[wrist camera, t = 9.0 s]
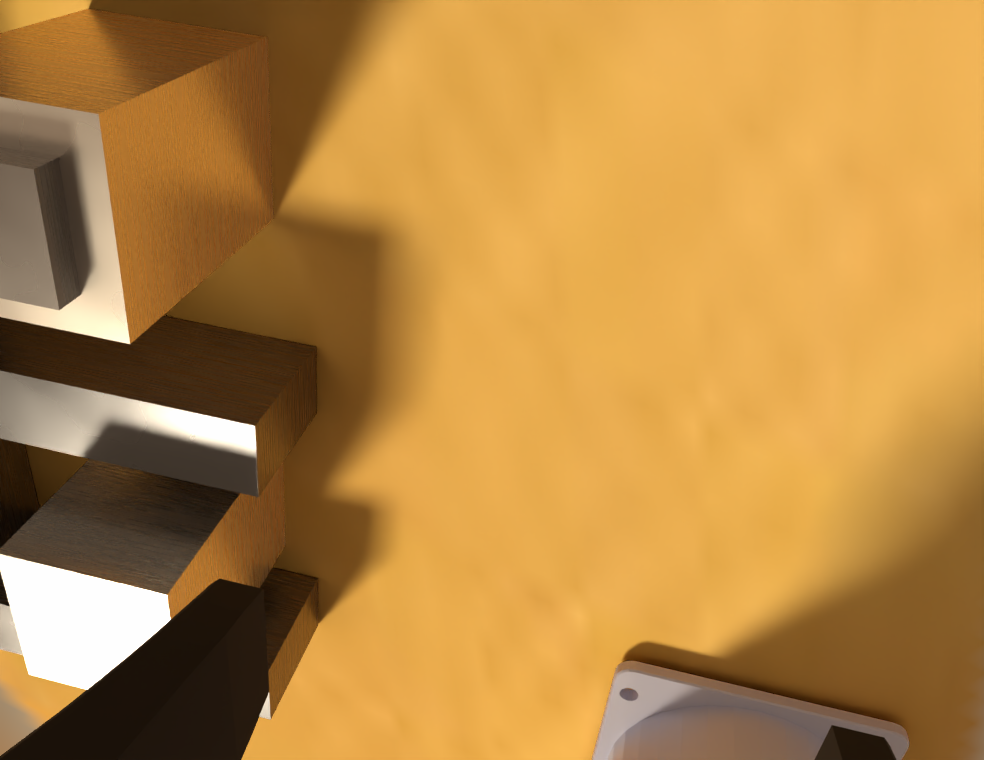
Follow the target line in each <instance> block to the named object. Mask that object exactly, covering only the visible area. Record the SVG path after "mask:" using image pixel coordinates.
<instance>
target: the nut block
mask: <svg viewBox="0 0 984 760" xmlns="http://www.w3.org/2000/svg"><path fill="white" fill-rule="evenodd" d="M273 219H274V212H273V183H272V154H271V124H270V95H269V66H268V37H264V36H258V35H251V34H245V33H239V32H233V31H226V30H220V29H214V28H207V27H201V26H195V25H189V24H182V23H176V22H170V21H163V20H157V19H151V18H145V17H138V16H132V15H126V14H120V13H113V12H107V11H101V10H94V9H85V10H82V11H78V12H75V13H71V14H68V15H64V16H61V17H57V18H53V19H50V20H46V21H43V22H39V23H36V24H32V25H29V26H25V27H21V28H18V29H14V30H11V31H7V32H4V33H0V317H3V318H8V319H12V320H17V321H22V322H27V323H31V324H36V325H41V326H46V327H51V328H55V329H60V330H65V331H70V332H74V333H79V334H84V335H89V336H94V337H98V338H103V339H108V340H113V341H117V342H122V343H127V344H131V343H132V342H133V341H134V340H136V339H137V338H138V337H139V336H140V335H141V334H142V333H144V332H145V331H146V330H147V329H148V328H149V327H150V326H152V325H153V324H154V323H155V322H156V321H157V320H158V319H160V318H161V317H162V316H163V315H164V314H165V313H167V312H168V311H169V310H170V309H171V308H172V307H173V306H175V305H176V304H177V303H178V302H179V301H180V300H181V299H183V298H184V297H185V296H186V295H187V294H188V293H189V292H191V291H192V290H193V289H194V288H195V287H196V286H197V285H199V284H200V283H201V282H202V281H203V280H204V279H206V278H207V277H208V276H209V275H210V274H211V273H212V272H214V271H215V270H216V269H217V268H218V267H219V266H220V265H222V264H223V263H224V262H225V261H226V260H227V259H228V258H230V257H231V256H232V255H233V254H234V253H235V252H237V251H238V250H239V249H240V248H241V247H242V246H243V245H245V244H246V243H247V242H248V241H249V240H250V239H251V238H253V237H254V236H255V235H256V234H257V233H258V232H259V231H261V230H262V229H263V228H264V227H265V226H266V225H267V224H269V223H270V222H271V221H272V220H273Z"/></svg>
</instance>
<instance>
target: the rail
mask: <svg viewBox="0 0 984 760" xmlns="http://www.w3.org/2000/svg"><path fill="white" fill-rule="evenodd" d="M316 413H317V386H316V347H314V346H309V345H304V344H299V343H294V342H289V341H285V340H280V339H275V338H270V337H265V336H260V335H255V334H250V333H245V332H240V331H236V330H231V329H226V328H221V327H216V326H211V325H206V324H201V323H196V322H191V321H186V320H182V319H177V318H172V317H167V316H162V317H161V318H160V319H158V320H157V321H156V322H155V323H154V324H153V325H152V326H150V327H149V328H148V329H147V330H146V331H145V332H144V333H142V334H141V335H140V336H139V337H138V338H137V339H136V340H134V341H133V342H132V343H131V344H127V343H122V342H117V341H113V340H108V339H103V338H98V337H94V336H89V335H84V334H79V333H74V332H70V331H65V330H60V329H55V328H51V327H46V326H41V325H36V324H31V323H27V322H22V321H17V320H12V319H8V318H3V317H0V548H1V547H2V546H3V545H4V544H5V543H6V542H7V541H8V540H9V539H10V538H11V537H12V536H13V535H14V534H15V533H16V532H17V531H18V530H19V529H20V528H21V527H22V526H23V525H24V524H25V523H26V522H27V521H28V520H29V519H30V518H31V517H32V516H33V515H34V514H35V513H36V512H37V511H38V510H39V509H40V508H39V504H38V500H37V495H36V491H35V487H34V482H33V478H32V474H31V469H30V465H29V460H28V456H27V452H26V447H25V444H27V445H31V446H36V447H40V448H44V449H49V450H53V451H58V452H62V453H66V454H71V455H75V456H80V457H84V458H88V459H93V460H97V461H101V462H106V463H110V464H115V465H119V466H123V467H128V468H132V469H137V470H141V471H145V472H150V473H154V474H159V475H163V476H167V477H172V478H176V479H181V480H185V481H189V482H194V483H198V484H202V485H207V486H211V487H216V488H220V489H224V490H229V491H233V492H238V493H242V494H246V495H251V496H255V497H259V496H260V495H261V493H262V492H263V490H264V489H265V488H266V486H267V485H268V483H269V482H270V480H271V479H272V477H273V476H274V474H275V473H276V472H277V470H278V469H279V467H280V466H281V464H282V463H283V461H284V460H285V458H286V457H287V456H288V454H289V453H290V451H291V450H292V448H293V447H294V445H295V444H296V442H297V441H298V440H299V438H300V437H301V435H302V434H303V432H304V431H305V429H306V428H307V426H308V425H309V423H310V422H311V421H312V419H313V418H314V416H315V415H316ZM260 588H262V589H264V606H265V623H266V641H267V658H268V676H269V693H268V696H267V698H266V701H265V703H264V706H263V708H262V711H261V713H260V716H259V717H262V718H266V719H270V720H271V718H272V716H273V714H274V712H275V710H276V708H277V706H278V704H279V702H280V700H281V698H282V696H283V694H284V692H285V690H286V688H287V686H288V684H289V682H290V680H291V678H292V676H293V674H294V672H295V670H296V668H297V666H298V664H299V662H300V660H301V658H302V656H303V654H304V652H305V650H306V648H307V646H308V644H309V642H310V640H311V638H312V636H313V634H314V632H315V630H316V628H317V626H318V579H317V578H313V577H309V576H305V575H301V574H296V573H292V572H288V571H284V570H280V569H275V568H272V569H271V570H270V572H269V574H268V575H267V577H266V579H265V580H264V582H263V584H262V585H261V587H260ZM0 649H1V650H5V651H9V652H13V653H16V654H20V655H23V651H22V648H21V644H20V641H19V637H18V633H17V630H16V626H15V622H14V619H13V615H12V611H11V608H10V604H9V600H8V597H7V593H6V590H5V586H4V582H3V579H2V575H1V571H0Z"/></svg>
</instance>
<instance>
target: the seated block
mask: <svg viewBox="0 0 984 760" xmlns="http://www.w3.org/2000/svg"><path fill="white" fill-rule="evenodd" d="M285 545H286V539H285V509H284V478H283V463H282V464H281V466H280V467H279V469H278V470H277V472H276V473H275V474H274V476H273V477H272V479H271V480H270V482H269V483H268V485H267V486H266V488H265V489H264V490H263V492H262V493H261V495H260V496H259V497H255V496H251V495H246V494H242V493H238V492H233V491H229V490H224V489H220V488H216V487H211V486H207V485H202V484H198V483H194V482H189V481H185V480H181V479H176V478H172V477H167V476H163V475H159V474H154V473H150V472H145V471H141V470H137V469H132V468H128V467H123V466H119V465H115V464H110V463H106V462H101V461H97V460H93V459H89V460H88V461H87V462H86V463H85V464H84V465H83V466H82V467H81V468H80V469H79V470H78V471H77V472H76V473H75V474H74V475H73V476H72V477H71V478H70V479H69V480H68V481H67V482H66V483H65V484H64V485H63V486H62V487H61V488H60V489H59V490H58V491H57V492H56V493H55V494H54V495H53V496H52V497H51V498H50V499H49V500H48V501H47V502H46V503H45V504H44V505H43V506H42V507H41V508H40V509H39V510H38V511H37V512H36V513H35V514H34V515H33V516H32V517H31V518H30V519H29V520H28V521H27V522H26V523H25V524H24V525H23V526H22V527H21V528H20V529H19V530H18V531H17V532H16V533H15V534H14V535H13V536H12V537H11V538H10V539H9V540H8V541H7V542H6V543H5V544H4V545H3V546H2V547H1V548H0V571H1V575H2V579H3V582H4V586H5V590H6V593H7V597H8V600H9V604H10V608H11V611H12V615H13V619H14V622H15V626H16V630H17V633H18V637H19V641H20V644H21V648H22V651H23V655H24V659H25V662H26V666H27V670H28V673H29V675H33V676H37V677H41V678H45V679H48V680H52V681H56V682H60V683H64V684H67V685H71V686H75V687H79V688H83V689H86V690H87V689H89V688H90V687H91V686H92V685H93V684H95V683H96V682H97V681H98V680H100V679H101V678H102V677H103V676H105V675H106V674H107V673H108V672H109V671H111V670H112V669H113V668H114V667H116V666H117V665H118V664H119V663H120V662H122V661H123V660H124V659H125V658H127V657H128V656H129V655H130V654H131V653H132V652H134V651H135V650H136V649H137V648H138V647H139V646H141V645H142V644H143V643H144V642H145V641H146V640H148V639H149V638H150V637H151V636H152V635H153V634H155V633H156V632H157V631H158V630H159V629H160V628H162V627H163V626H164V625H165V624H166V623H167V622H168V621H170V620H171V619H172V618H173V617H174V616H175V615H176V614H178V613H179V612H180V611H181V610H182V609H183V608H184V607H185V606H187V605H188V604H189V603H190V602H191V601H192V600H193V599H194V598H196V597H197V596H198V595H199V594H200V593H201V592H202V591H203V590H205V589H206V588H207V587H208V586H209V585H210V584H211V583H213V582H214V581H216V580H218V579H224V580H228V581H232V582H237V583H241V584H245V585H249V586H253V587H257V588H260V587H261V585H262V584H263V582H264V580H265V579H266V577H267V575H268V574H269V572H270V570H271V569H272V567H273V565H274V564H275V562H276V560H277V559H278V557H279V555H280V554H281V552H282V550H283V549H284V547H285Z"/></svg>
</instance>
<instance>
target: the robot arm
mask: <svg viewBox="0 0 984 760" xmlns="http://www.w3.org/2000/svg"><path fill="white" fill-rule="evenodd" d="M626 688H631V689H633V690H631V689H626ZM268 693H269V676H268V658H267V641H266V623H265V606H264V589H262V588H257V587H253V586H249V585H245V584H241V583H237V582H232V581H228V580H224V579H218V580H216V581H214V582H213V583H211V584H210V585H209V586H208V587H207V588H206V589H205V590H203V591H202V592H201V593H200V594H199V595H198V596H197V597H196V598H194V599H193V600H192V601H191V602H190V603H189V604H188V605H187V606H185V607H184V608H183V609H182V610H181V611H180V612H179V613H178V614H176V615H175V616H174V617H173V618H172V619H171V620H170V621H168V622H167V623H166V624H165V625H164V626H163V627H162V628H160V629H159V630H158V631H157V632H156V633H155V634H153V635H152V636H151V637H150V638H149V639H148V640H146V641H145V642H144V643H143V644H142V645H141V646H139V647H138V648H137V649H136V650H135V651H134V652H132V653H131V654H130V655H129V656H128V657H127V658H125V659H124V660H123V661H122V662H120V663H119V664H118V665H117V666H116V667H114V668H113V669H112V670H111V671H109V672H108V673H107V674H106V675H105V676H103V677H102V678H101V679H100V680H98V681H97V682H96V683H95V684H93V685H92V686H91V687H90V688H89V689H87V690H86V691H85V692H84V693H82V694H81V695H80V696H79V697H78V698H76V699H75V700H74V701H73V702H71V703H70V704H69V705H67V706H66V707H65V708H64V709H62V710H61V711H60V712H59V713H57V714H56V715H55V716H53V717H52V718H51V719H49V720H48V721H46V722H45V723H44V724H42V725H41V726H40V727H38V728H37V729H36V730H34V731H33V732H32V733H30V734H29V735H28V736H26V737H25V738H24V739H22V740H21V741H20V742H18V743H17V744H16V745H15V746H13V747H12V748H10V749H9V750H8V751H6V752H5V753H4V754H2V755H1V756H0V760H241V759H242V756H243V754H244V752H245V749H246V747H247V745H248V742H249V740H250V738H251V735H252V733H253V731H254V728H255V726H256V723H257V721H258V718H259V716H260V713H261V711H262V708H263V706H264V703H265V701H266V698H267V696H268ZM908 748H909V739H908V734H907V732H906V730H905V729H904V728H903V727H902V726H901V725H898V724H896V723H893V722H889V721H885V720H881V719H877V718H872V717H868V716H864V715H860V714H856V713H851V712H847V711H843V710H839V709H835V708H830V707H826V706H822V705H818V704H814V703H809V702H805V701H801V700H797V699H793V698H789V697H784V696H780V695H776V694H772V693H768V692H763V691H759V690H755V689H751V688H747V687H742V686H738V685H734V684H730V683H726V682H721V681H717V680H713V679H709V678H705V677H701V676H696V675H692V674H688V673H684V672H680V671H675V670H671V669H667V668H663V667H659V666H654V665H650V664H646V663H642V662H638V661H625V662H622V663H620V664H619V665H618V666H617V668H616V670H615V673H614V677H613V681H612V685H611V688H610V692H609V696H608V700H607V703H606V707H605V711H604V715H603V718H602V722H601V726H600V730H599V733H598V737H597V741H596V745H595V748H594V752H593V756H592V760H902V758H903V757H904V755H905V753H906V751H907V750H908Z"/></svg>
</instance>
